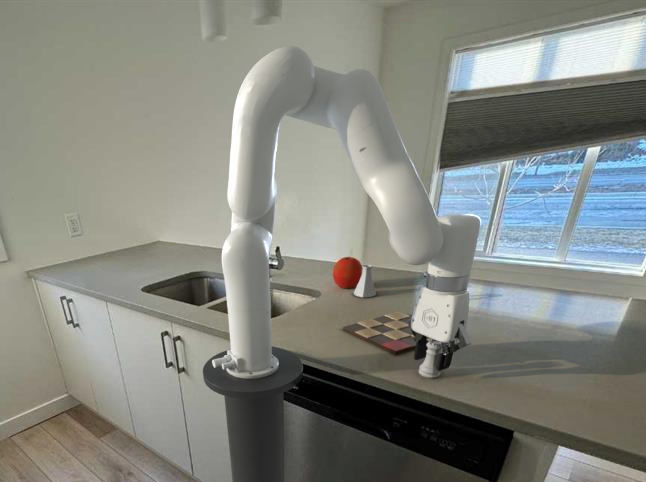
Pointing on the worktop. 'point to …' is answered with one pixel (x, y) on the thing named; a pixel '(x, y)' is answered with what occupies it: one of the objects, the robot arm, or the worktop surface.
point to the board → (386, 332)
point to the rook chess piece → (431, 360)
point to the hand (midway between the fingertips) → (431, 362)
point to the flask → (365, 283)
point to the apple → (347, 272)
